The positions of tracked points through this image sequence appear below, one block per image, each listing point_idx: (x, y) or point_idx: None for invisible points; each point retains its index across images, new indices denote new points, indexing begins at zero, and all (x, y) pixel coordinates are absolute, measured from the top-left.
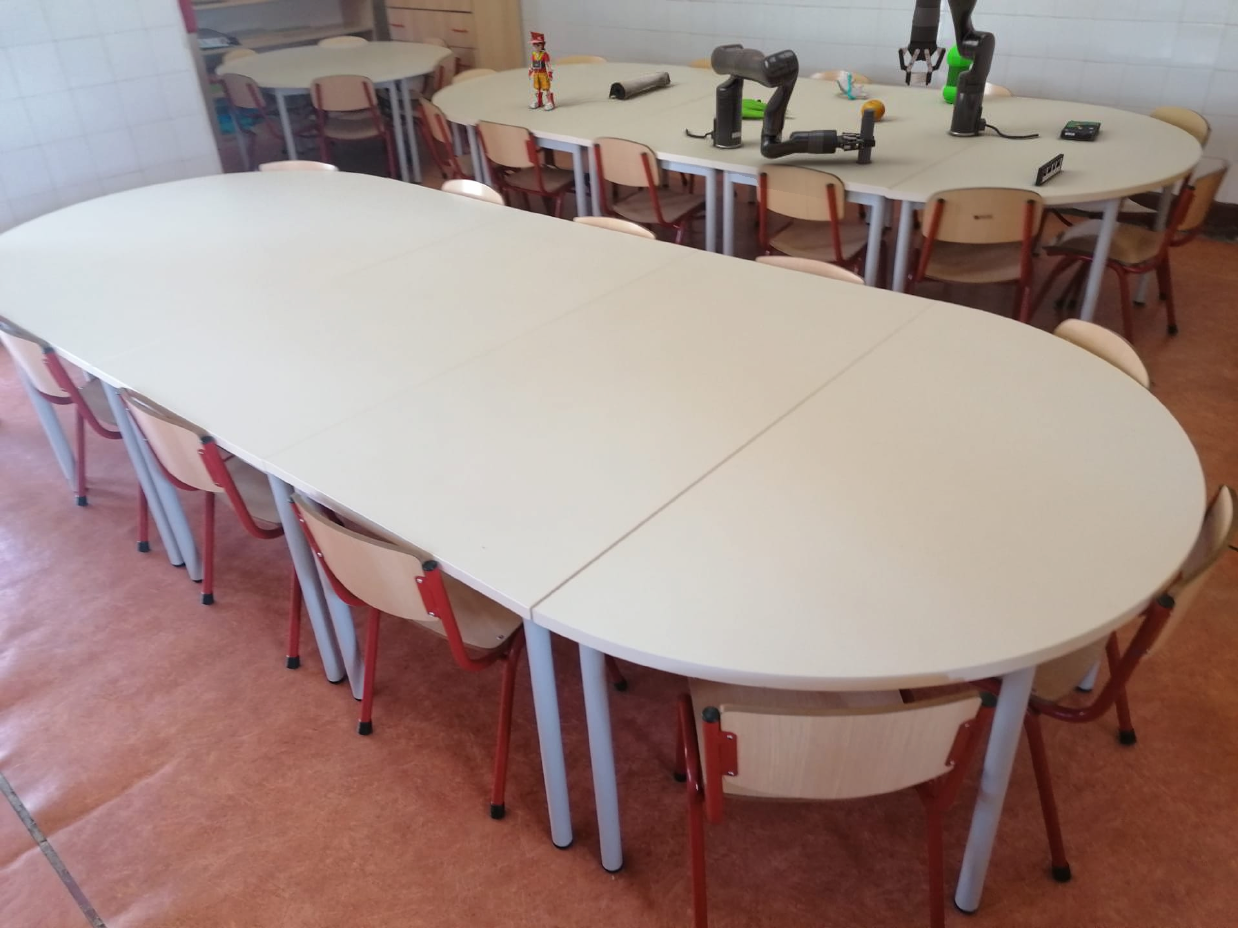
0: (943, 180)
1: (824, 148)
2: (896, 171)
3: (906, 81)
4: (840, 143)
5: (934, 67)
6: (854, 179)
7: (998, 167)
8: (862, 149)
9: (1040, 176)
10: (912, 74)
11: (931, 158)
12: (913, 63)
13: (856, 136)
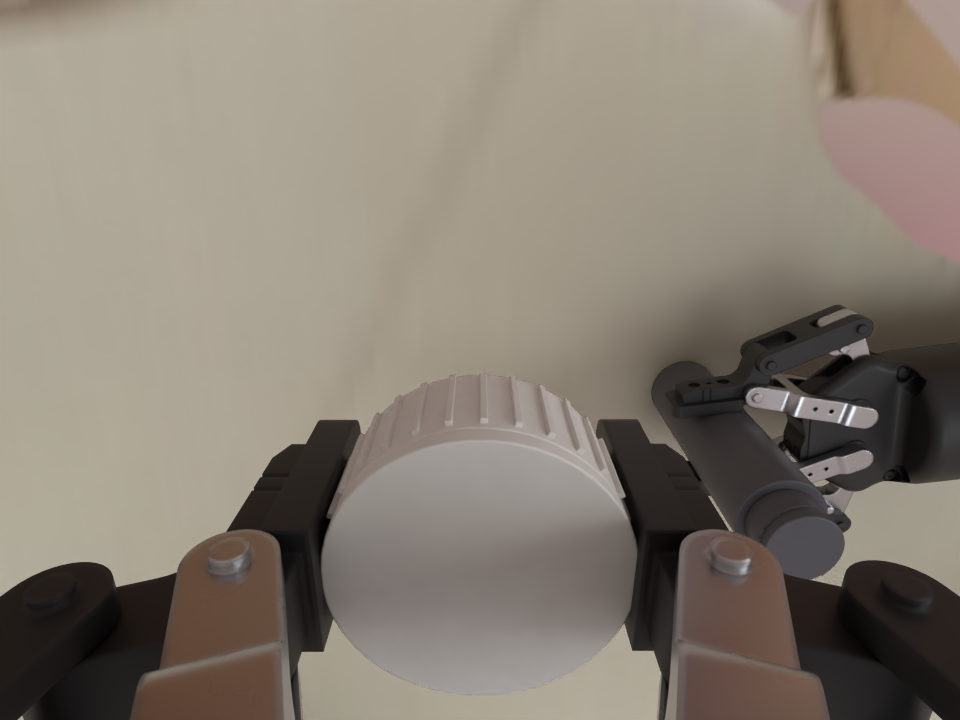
0: (282, 120)
1: (953, 345)
2: (526, 254)
3: (665, 463)
4: (882, 358)
5: (121, 638)
6: (754, 84)
7: (55, 366)
8: None
9: None
10: (611, 495)
11: None
12: (696, 672)
13: None
